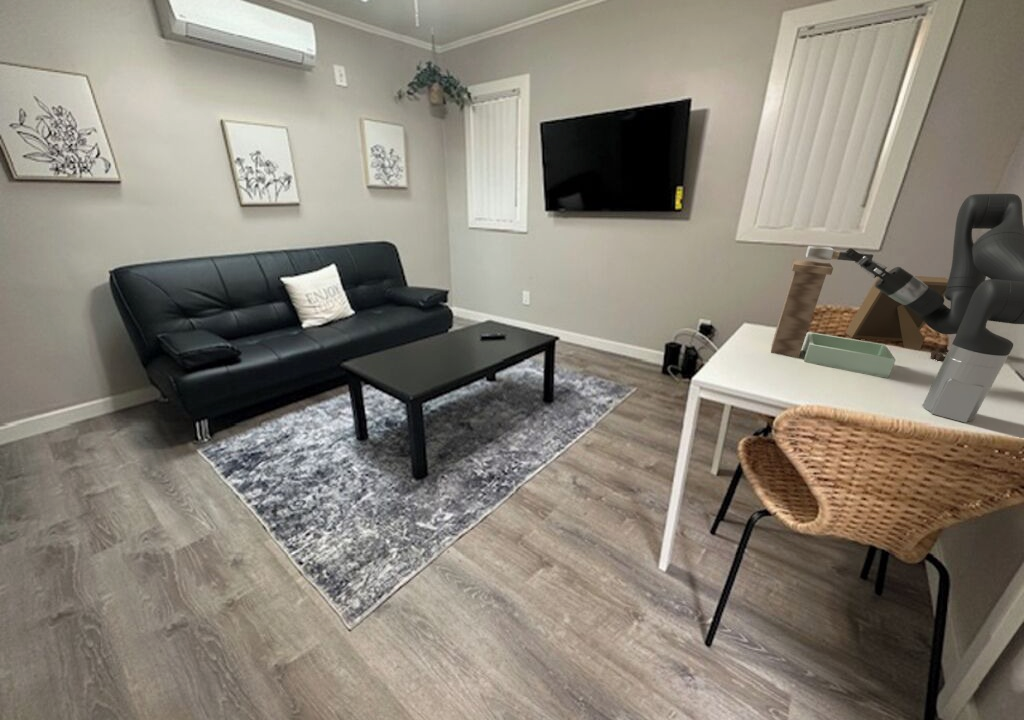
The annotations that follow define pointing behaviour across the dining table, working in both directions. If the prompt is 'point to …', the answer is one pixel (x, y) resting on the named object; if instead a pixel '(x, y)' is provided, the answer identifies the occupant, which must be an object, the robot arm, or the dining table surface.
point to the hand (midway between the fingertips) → (847, 251)
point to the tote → (848, 354)
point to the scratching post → (799, 306)
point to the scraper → (829, 254)
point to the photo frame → (891, 317)
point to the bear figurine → (939, 355)
